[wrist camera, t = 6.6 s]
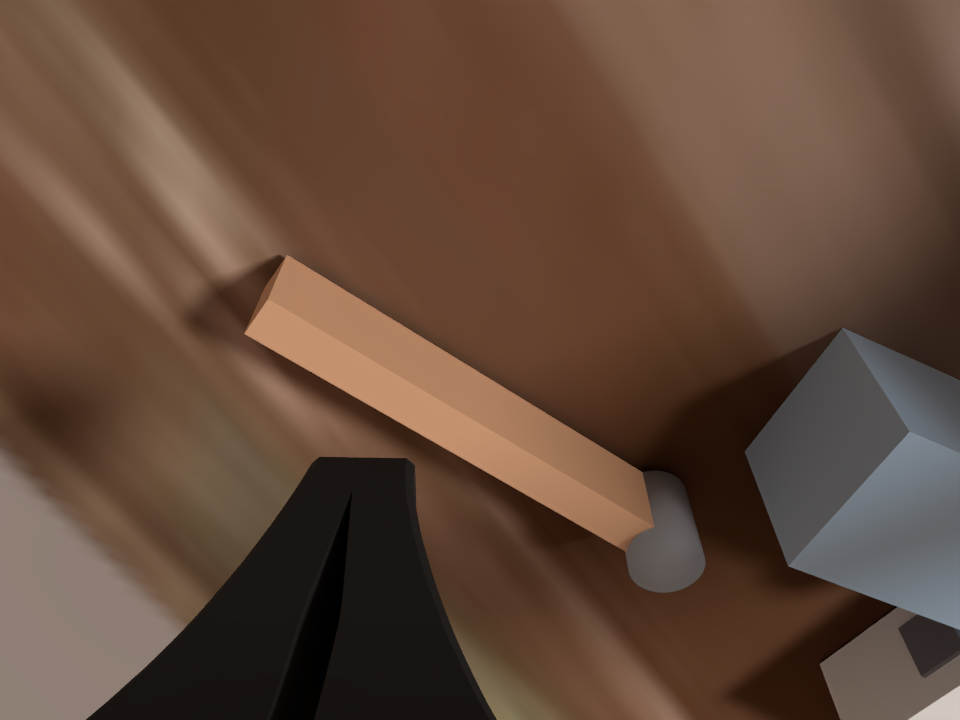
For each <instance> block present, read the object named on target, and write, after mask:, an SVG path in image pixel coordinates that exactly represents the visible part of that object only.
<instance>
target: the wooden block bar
mask: <svg viewBox="0 0 960 720" xmlns="http://www.w3.org/2000/svg"><path fill="white" fill-rule="evenodd" d="M244 334H245V335H247V336H249V337H251V338H252V339H254V340H256V341H258V342H259V343H261V344H263V345H265V346H266V347H268V348H270V349H272V350H273V351H275V352H277V353H279V354H280V355H282V356H284V357H286V358H287V359H289V360H291V361H293V362H294V363H296V364H298V365H300V366H301V367H303V368H305V369H307V370H308V371H310V372H312V373H314V374H315V375H317V376H319V377H321V378H322V379H324V380H326V381H328V382H329V383H331V384H333V385H335V386H336V387H338V388H340V389H342V390H343V391H345V392H347V393H349V394H350V395H352V396H354V397H356V398H357V399H359V400H361V401H363V402H364V403H366V404H368V405H370V406H371V407H373V408H375V409H377V410H378V411H380V412H382V413H384V414H385V415H387V416H389V417H391V418H392V419H394V420H396V421H398V422H399V423H401V424H403V425H405V426H406V427H408V428H410V429H412V430H413V431H415V432H417V433H419V434H420V435H422V436H424V437H426V438H427V439H429V440H431V441H433V442H434V443H436V444H438V445H440V446H441V447H443V448H445V449H447V450H448V451H450V452H452V453H454V454H455V455H457V456H459V457H461V458H462V459H464V460H466V461H468V462H469V463H471V464H473V465H475V466H476V467H478V468H480V469H482V470H483V471H485V472H487V473H489V474H491V475H492V476H494V477H496V478H498V479H499V480H501V481H503V482H505V483H506V484H508V485H510V486H512V487H513V488H515V489H517V490H519V491H520V492H522V493H524V494H526V495H527V496H529V497H531V498H533V499H534V500H536V501H538V502H540V503H541V504H543V505H545V506H547V507H548V508H550V509H552V510H554V511H555V512H557V513H559V514H561V515H562V516H564V517H566V518H568V519H569V520H571V521H573V522H575V523H576V524H578V525H580V526H582V527H583V528H585V529H587V530H589V531H590V532H592V533H594V534H596V535H597V536H599V537H601V538H603V539H604V540H606V541H608V542H610V543H611V544H613V545H615V546H617V547H618V548H620V549H622V550H624V551H625V554H626V559H627V565H628V570H629V574H630V577H631V578H632V580H633V581H634V582H635V583H636V584H637V585H638V586H640V587H641V588H643V589H646V590H649V591H652V592H660V593H665V592H674V591H678V590H681V589H684V588H686V587H688V586H690V585H691V584H693V583H694V582H695V581H696V580H697V579H698V578H699V577H700V576H701V574H702V573H703V571H704V568H705V556H704V553H703V549H702V546H701V542H700V538H699V535H698V531H697V528H696V524H695V521H694V517H693V513H692V510H691V506H690V503H689V499H688V495H687V492H686V489H685V486H684V484H683V483H682V481H681V480H680V479H679V478H677V477H676V476H674V475H673V474H670V473H668V472H664V471H645V472H641V471H640V470H638V469H636V468H635V467H633V466H631V465H630V464H628V463H627V462H625V461H623V460H622V459H620V458H618V457H617V456H615V455H613V454H612V453H610V452H609V451H607V450H605V449H604V448H602V447H600V446H599V445H597V444H596V443H594V442H592V441H591V440H589V439H587V438H586V437H584V436H582V435H581V434H579V433H578V432H576V431H574V430H573V429H571V428H569V427H568V426H566V425H564V424H563V423H561V422H560V421H558V420H556V419H555V418H553V417H551V416H550V415H548V414H546V413H545V412H543V411H542V410H540V409H538V408H537V407H535V406H533V405H532V404H530V403H528V402H527V401H525V400H524V399H522V398H520V397H519V396H517V395H515V394H514V393H512V392H511V391H509V390H507V389H506V388H504V387H502V386H501V385H499V384H497V383H496V382H494V381H493V380H491V379H489V378H488V377H486V376H484V375H483V374H481V373H479V372H478V371H476V370H475V369H473V368H471V367H470V366H468V365H466V364H465V363H463V362H461V361H460V360H458V359H457V358H455V357H453V356H452V355H450V354H448V353H447V352H445V351H443V350H442V349H440V348H439V347H437V346H435V345H434V344H432V343H430V342H429V341H427V340H426V339H424V338H422V337H421V336H419V335H417V334H416V333H414V332H412V331H411V330H409V329H408V328H406V327H404V326H403V325H401V324H399V323H398V322H396V321H394V320H393V319H391V318H390V317H388V316H386V315H385V314H383V313H381V312H380V311H378V310H376V309H375V308H373V307H372V306H370V305H368V304H367V303H365V302H363V301H362V300H360V299H358V298H357V297H355V296H354V295H352V294H350V293H349V292H347V291H345V290H344V289H342V288H341V287H339V286H337V285H336V284H334V283H332V282H331V281H329V280H327V279H326V278H324V277H323V276H321V275H319V274H318V273H316V272H314V271H313V270H311V269H309V268H308V267H306V266H305V265H303V264H301V263H300V262H298V261H296V260H295V259H293V258H291V257H290V256H288V255H286V257H285V258H284V260H283V261H282V263H281V264H280V266H279V267H278V269H277V270H276V272H275V273H274V275H273V276H272V278H271V279H270V281H269V282H268V283H267V285H266V286H265V288H264V290H263V293H262V295H261V297H260V299H259V302H258V304H257V306H256V308H255V311H254V313H253V315H252V317H251V320H250V322H249V324H248V326H247V329H246V331H245V333H244Z"/></svg>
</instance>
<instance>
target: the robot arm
mask: <svg viewBox="0 0 960 720" xmlns="http://www.w3.org/2000/svg"><path fill="white" fill-rule="evenodd" d="M86 720H497V719H496V718H495V716H494V714H493V712H492V711H491V709H490V707H489V705H488V703H487V702H486V700H485V698H484V696H483V694H482V692H481V690H480V688H479V686H478V684H477V682H476V680H475V678H474V676H473V674H472V672H471V670H470V668H469V665H468V663H467V661H466V659H465V657H464V655H463V653H462V650H461V648H460V646H459V644H458V641H457V639H456V637H455V634H454V632H453V629H452V627H451V625H450V622H449V620H448V617H447V614H446V612H445V609H444V606H443V604H442V601H441V598H440V596H439V593H438V590H437V587H436V584H435V581H434V578H433V575H432V572H431V568H430V565H429V561H428V558H427V554H426V551H425V547H424V544H423V540H422V536H421V532H420V527H419V522H418V517H417V511H416V484H415V465H414V464H413V463H412V462H410V461H409V460H408V459H407V458H347V457H319V458H318V459H316V460H315V461H314V462H313V463H312V464H311V466H310V467H309V469H308V471H307V472H306V474H305V475H304V477H303V479H302V480H301V482H300V483H299V485H298V486H297V488H296V489H295V491H294V493H293V494H292V496H291V497H290V498H289V500H288V501H287V503H286V504H285V506H284V507H283V509H282V510H281V511H280V513H279V514H278V516H277V517H276V519H275V520H274V521H273V523H272V524H271V526H270V527H269V528H268V529H267V531H266V532H265V533H264V535H263V536H262V537H261V539H260V540H259V541H258V543H257V544H256V545H255V547H254V548H253V549H252V550H251V552H250V553H249V554H248V556H247V557H246V558H245V560H244V561H243V562H242V563H241V565H240V566H239V567H238V568H237V570H236V571H235V572H234V573H233V574H232V575H231V577H230V578H229V579H228V580H227V581H226V582H225V584H224V585H223V586H222V587H221V588H220V589H219V591H218V592H217V593H216V594H215V595H214V596H213V598H212V599H211V600H210V601H209V602H208V603H207V605H206V606H205V607H204V608H203V609H202V610H201V611H200V612H199V614H198V615H197V616H196V617H195V618H194V619H193V620H192V621H191V622H190V623H189V624H188V625H187V626H186V627H185V629H184V630H183V631H182V632H181V633H180V634H179V635H178V636H177V637H176V638H175V639H174V640H173V641H172V642H171V643H170V644H169V645H168V646H167V647H166V648H165V649H164V650H163V651H162V652H161V653H160V654H159V655H158V656H157V657H156V658H155V659H154V660H153V661H152V662H151V663H149V665H147V666H146V667H145V668H144V669H143V670H142V671H141V672H140V673H139V674H138V675H137V676H135V677H134V678H133V679H132V680H131V681H130V682H129V683H128V684H126V685H125V686H124V687H123V688H122V689H121V690H120V691H119V692H118V693H117V694H115V695H114V696H113V697H112V698H111V699H110V700H109V701H108V702H106V703H105V704H104V705H103V706H102V707H100V708H99V709H98V710H97V711H96V712H95V713H93V714H92V715H91V716H90V717H89V718H87V719H86Z"/></svg>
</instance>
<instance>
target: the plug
mask: <svg viewBox="0 0 960 720" xmlns="http://www.w3.org/2000/svg"><path fill="white" fill-rule="evenodd" d="M745 454H746V457H747V459H748V462H749V465H750V467H751V470H752V472H753V475H754V478H755V480H756V483H757V486H758V488H759V491H760V493H761V496H762V499H763V501H764V504H765V507H766V509H767V512H768V515H769V517H770V520H771V522H772V525H773V528H774V530H775V533H776V536H777V538H778V541H779V543H780V546H781V549H782V551H783V554H784V557H785V559H786V562H787V564H788V566H789V567H792V568H794V569H797V570H800V571H802V572H805V573H808V574H810V575H813V576H816V577H819V578H821V579H824V580H827V581H829V582H832V583H835V584H837V585H840V586H843V587H845V588H848V589H851V590H854V591H856V592H859V593H862V594H864V595H867V596H870V597H872V598H875V599H878V600H881V601H883V602H886V603H889V604H891V605H894V606H897V607H899V608H902V609H905V610H908V611H910V612H913V613H916V614H918V615H921V616H924V617H926V618H929V619H932V620H935V621H937V622H940V623H943V624H945V625H948V626H951V627H953V628H954V629H955V631H956V633H957V634H958V636H959V638H960V380H959V379H956V378H954V377H952V376H950V375H947V374H945V373H943V372H941V371H938V370H936V369H934V368H932V367H929V366H927V365H925V364H923V363H921V362H918V361H916V360H914V359H912V358H909V357H907V356H905V355H903V354H900V353H898V352H896V351H894V350H891V349H889V348H887V347H885V346H882V345H880V344H878V343H876V342H874V341H871V340H869V339H867V338H865V337H862V336H860V335H858V334H856V333H853V332H851V331H849V330H847V329H844V328H842V329H841V330H840V332H839V333H838V334H837V335H836V337H835V338H834V339H833V340H832V342H831V343H830V344H829V346H828V347H827V348H826V349H825V351H824V352H823V353H822V354H821V356H820V357H819V358H818V359H817V361H816V362H815V363H814V365H813V366H812V367H811V368H810V370H809V371H808V372H807V373H806V375H805V376H804V377H803V378H802V380H801V381H800V382H799V384H798V385H797V386H796V387H795V389H794V390H793V391H792V392H791V394H790V395H789V396H788V397H787V399H786V400H785V401H784V403H783V404H782V405H781V406H780V408H779V409H778V410H777V411H776V413H775V414H774V415H773V416H772V418H771V419H770V420H769V421H768V423H767V424H766V425H765V427H764V428H763V429H762V430H761V432H760V433H759V434H758V435H757V437H756V438H755V439H754V440H753V442H752V443H751V444H750V446H749V447H748V448H747V449H746V451H745Z"/></svg>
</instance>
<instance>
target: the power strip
mask: <svg viewBox="0 0 960 720" xmlns="http://www.w3.org/2000/svg"><path fill="white" fill-rule="evenodd" d="M820 667H821V669H822V672H823V675H824V677H825V680H826V683H827V685H828V688H829V691H830V693H831V696H832V699H833V701H834V704H835V707H836V709H837V712H838V715H839V717H840V720H960V638H959V636H958V634H957V633H956V631H955V629H954V628H953V627H951V626H948V625H945V624H943V623H940V622H937V621H935V620H932V619H929V618H926V617H924V616H921V615H918V614H916V613H913V612H910V611H908V610H905V609H902V608H899V607H897V608H896V609H894V610H893V611H891V612H890V613H889V614H887V615H886V616H885V617H883V618H882V619H881V620H879V621H878V622H876V623H875V624H874V625H872V626H871V627H870V628H868V629H867V630H865V631H864V632H863V633H861V634H860V635H859V636H857V637H856V638H855V639H853V640H852V641H850V642H849V643H848V644H846V645H845V646H844V647H842V648H841V649H840V650H838V651H837V652H835V653H834V654H833V655H831V656H830V657H829V658H827V659H826V660H825V661H823V662H822V663H820Z"/></svg>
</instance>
